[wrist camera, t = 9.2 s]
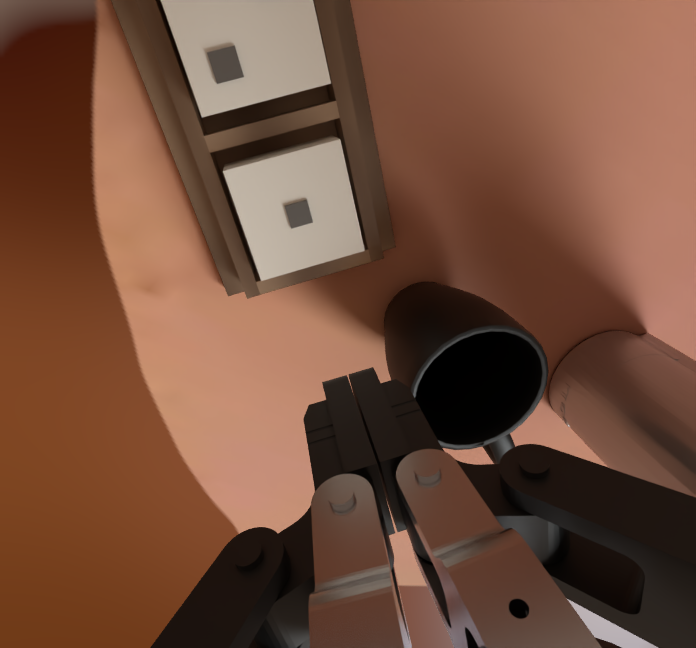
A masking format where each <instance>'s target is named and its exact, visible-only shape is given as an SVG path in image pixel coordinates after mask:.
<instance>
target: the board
mask: <svg viewBox="0 0 696 648" xmlns="http://www.w3.org/2000/svg"><path fill="white" fill-rule="evenodd" d="M111 1H112V4H113V6H114V9H115V12H116V14H117V17H118V19H119V22H120V24H121V27H122V29H123V32H124V34H125V37H126V39H127V42H128V44H129V47H130V49H131V52H132V54H133V57H134V59H135V62H136V65H137V67H138V70H139V72H140V75H141V77H142V80H143V82H144V85H145V87H146V90H147V92H148V95H149V97H150V100H151V102H152V105H153V107H154V110H155V113H156V115H157V118H158V120H159V123H160V125H161V128H162V130H163V133H164V135H165V138H166V140H167V143H168V145H169V148H170V150H171V153H172V155H173V158H174V160H175V163H176V166H177V168H178V171H179V173H180V176H181V178H182V181H183V183H184V186H185V188H186V191H187V193H188V196H189V198H190V201H191V203H192V206H193V208H194V211H195V214H196V216H197V219H198V221H199V224H200V226H201V229H202V231H203V234H204V236H205V239H206V241H207V244H208V246H209V249H210V251H211V254H212V256H213V259H214V261H215V264H216V267H217V269H218V272H219V274H220V277H221V279H222V282H223V284H224V287H225V289H226V292H227V294H228V296H231V295H234V294H237V293H241V292H245V294H246V297H247V299H248V298H251V297H254V296H258V295H261V294H264V293H268V292H271V291H275V290H278V289H281V288H285V287H288V286H292V285H295V284H298V283H302V282H305V281H309V280H312V279H315V278H319V277H322V276H325V275H329V274H332V273H336V272H339V271H342V270H346V269H349V268H353V267H356V266H359V265H363V264H366V263H369V262H373V261H376V260H380V259H383V258H384V256H383V251H384V250H387V249H391V248H394V247H396V246H395V241H394V235H393V230H392V225H391V219H390V214H389V209H388V203H387V198H386V192H385V187H384V182H383V176H382V171H381V165H380V160H379V155H378V149H377V144H376V138H375V133H374V128H373V122H372V117H371V111H370V106H369V101H368V95H367V90H366V85H365V79H364V74H363V68H362V63H361V58H360V52H359V47H358V41H357V36H356V31H355V25H354V20H353V14H352V9H351V4H350V0H313V2H314V7H315V12H316V16H317V21H318V25H319V30H320V35H321V39H322V44H323V48H324V53H325V57H326V62H327V67H328V71H329V76H330V80H331V84H327V85H324V86H320V87H316V88H312V89H308V90H305V91H301V92H297V93H293V94H289V95H286V96H282V97H278V98H274V99H270V100H267V101H263V102H259V103H255V104H252V105H248V106H244V107H240V108H236V109H233V110H229V111H225V112H221V113H217V114H214V115H210V116H206V117H202V116H201V113H200V110H199V107H198V105H197V102H196V99H195V96H194V93H193V90H192V87H191V85H190V82H189V79H188V76H187V73H186V70H185V68H184V65H183V62H182V59H181V56H180V53H179V51H178V48H177V45H176V42H175V39H174V36H173V34H172V31H171V28H170V25H169V22H168V19H167V16H166V14H165V11H164V8H163V5H162V2H161V0H111ZM330 135H333V136H335V137H337V138H339V139H340V141H341V145H342V150H343V154H344V159H345V163H346V168H347V172H348V177H349V181H350V186H351V190H352V195H353V199H354V204H355V208H356V213H357V217H358V222H359V226H360V231H361V236H362V240H363V245H364V249H365V251H362V252H359V253H355V254H352V255H349V256H345V257H342V258H338V259H335V260H332V261H328V262H325V263H321V264H318V265H315V266H311V267H308V268H304V269H301V270H297V271H294V272H291V273H287V274H284V275H280V276H277V277H274V278H270V279H267V280H263V281H261V279H260V276H259V273H258V270H257V268H256V265H255V262H254V259H253V256H252V253H251V250H250V248H249V245H248V242H247V239H246V236H245V233H244V230H243V228H242V225H241V222H240V219H239V216H238V213H237V210H236V208H235V205H234V202H233V199H232V196H231V193H230V190H229V188H228V185H227V182H226V179H225V176H224V173H223V169H224V165H225V164H228V163H231V162H235V161H239V160H242V159H246V158H250V157H253V156H257V155H261V154H264V153H268V152H272V151H275V150H279V149H283V148H286V147H290V146H294V145H297V144H301V143H305V142H308V141H312V140H316V139H319V138H323V137H327V136H330Z"/></svg>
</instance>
